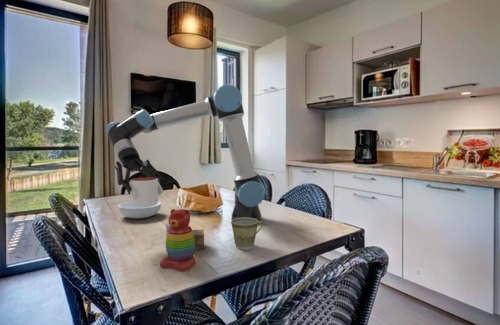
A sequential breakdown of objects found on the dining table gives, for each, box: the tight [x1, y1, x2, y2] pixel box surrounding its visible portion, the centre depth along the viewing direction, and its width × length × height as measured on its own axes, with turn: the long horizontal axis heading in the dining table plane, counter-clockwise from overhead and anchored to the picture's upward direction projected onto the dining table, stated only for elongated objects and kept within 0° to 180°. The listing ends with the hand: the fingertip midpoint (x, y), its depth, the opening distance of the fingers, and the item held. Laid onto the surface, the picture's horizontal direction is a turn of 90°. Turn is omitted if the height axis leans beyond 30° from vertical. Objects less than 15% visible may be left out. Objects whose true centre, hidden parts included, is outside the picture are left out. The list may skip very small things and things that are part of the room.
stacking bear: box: [159, 208, 196, 272], centre depth 95 cm, size 11×10×18 cm
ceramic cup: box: [231, 217, 265, 251], centre depth 110 cm, size 13×10×10 cm
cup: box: [129, 176, 159, 207], centre depth 113 cm, size 10×10×10 cm
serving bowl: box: [118, 200, 162, 220], centre depth 154 cm, size 21×21×7 cm
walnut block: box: [192, 229, 205, 252], centre depth 109 cm, size 6×6×6 cm
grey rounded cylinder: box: [165, 222, 171, 239], centre depth 116 cm, size 6×6×7 cm
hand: (148, 195), depth 111 cm, fingers closed on cup, 10 cm apart
